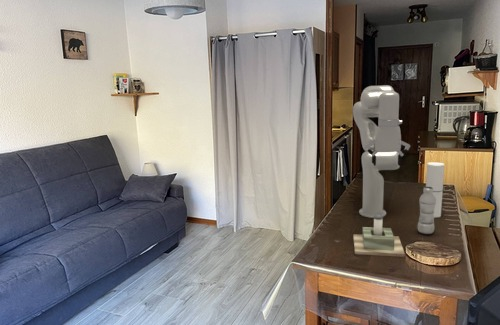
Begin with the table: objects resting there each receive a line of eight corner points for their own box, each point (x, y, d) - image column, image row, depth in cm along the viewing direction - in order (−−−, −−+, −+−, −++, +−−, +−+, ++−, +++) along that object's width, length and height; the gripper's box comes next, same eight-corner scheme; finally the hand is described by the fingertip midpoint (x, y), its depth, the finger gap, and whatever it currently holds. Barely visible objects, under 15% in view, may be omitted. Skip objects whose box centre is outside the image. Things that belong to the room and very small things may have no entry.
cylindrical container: (425, 217, 178) (429, 165, 173) (422, 211, 185) (425, 162, 180) (442, 217, 177) (446, 165, 171) (438, 212, 184) (442, 162, 178)
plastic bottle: (413, 231, 163) (416, 187, 159) (425, 228, 166) (428, 184, 161) (425, 237, 157) (428, 191, 153) (437, 234, 160) (440, 188, 155)
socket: (353, 236, 161) (353, 224, 160) (398, 239, 157) (399, 226, 155) (354, 254, 146) (355, 240, 144) (404, 256, 142) (405, 242, 140)
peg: (372, 241, 153) (373, 213, 150) (381, 242, 152) (382, 213, 149) (373, 245, 150) (374, 216, 147) (382, 245, 149) (383, 216, 146)
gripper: (409, 122, 154) (407, 163, 157) (365, 122, 158) (364, 162, 161) (412, 124, 147) (410, 167, 150) (366, 125, 151) (365, 167, 154)
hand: (386, 165), depth 156 cm, fingers open, 9 cm apart
